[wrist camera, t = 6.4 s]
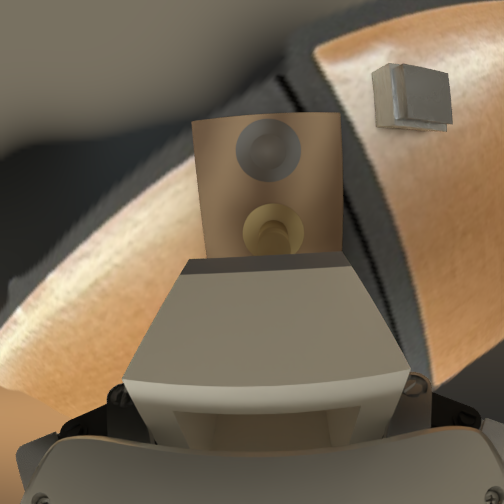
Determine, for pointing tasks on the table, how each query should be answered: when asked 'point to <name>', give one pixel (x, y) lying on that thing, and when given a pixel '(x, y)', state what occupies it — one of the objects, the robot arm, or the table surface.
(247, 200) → the board
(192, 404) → the sleeve
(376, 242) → the table surface
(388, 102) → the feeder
